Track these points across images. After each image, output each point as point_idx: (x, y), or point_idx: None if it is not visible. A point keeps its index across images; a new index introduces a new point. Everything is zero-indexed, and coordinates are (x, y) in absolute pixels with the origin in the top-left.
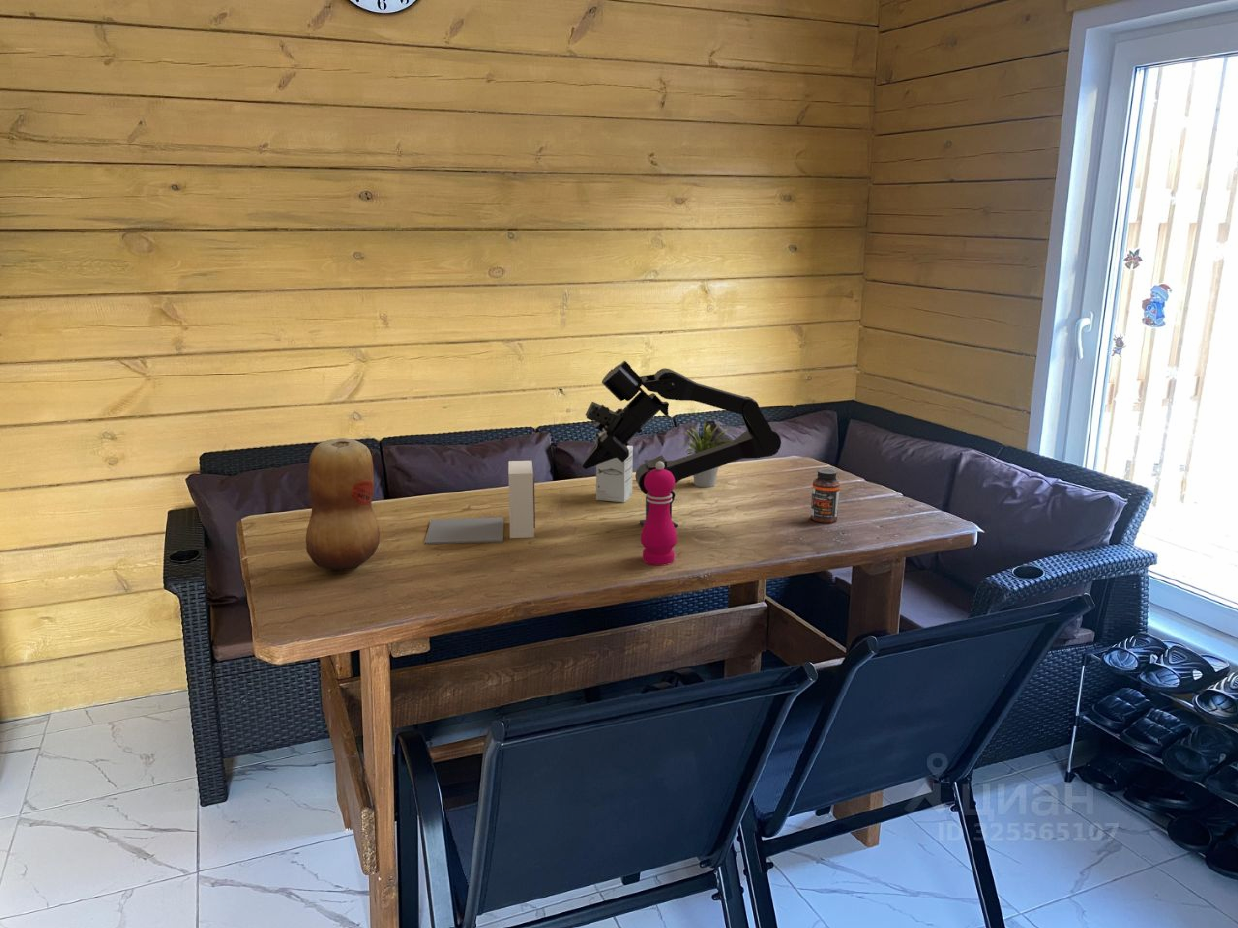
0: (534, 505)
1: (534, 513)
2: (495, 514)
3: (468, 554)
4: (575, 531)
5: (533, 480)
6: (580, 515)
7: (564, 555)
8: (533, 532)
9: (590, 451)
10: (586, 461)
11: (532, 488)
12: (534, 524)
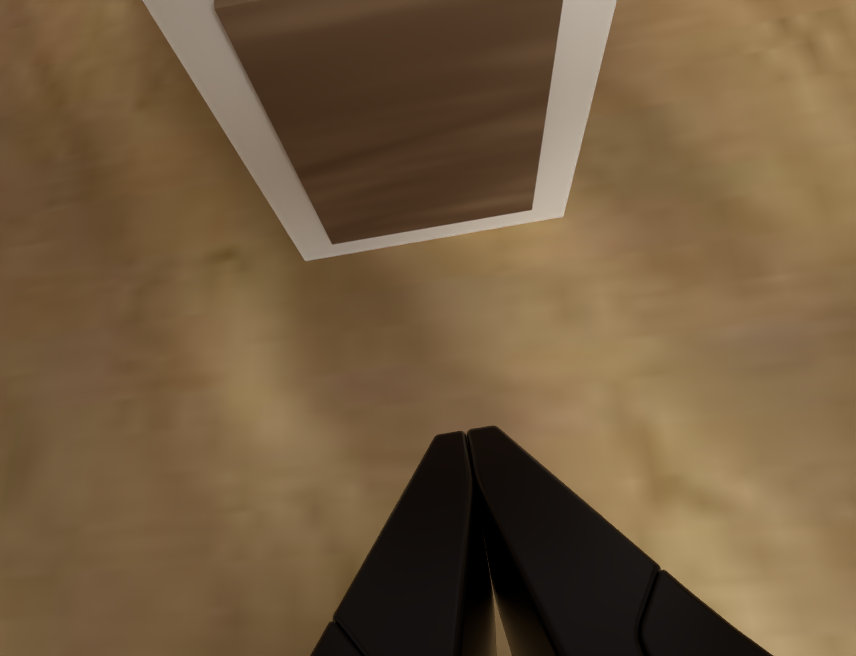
0: (294, 167)
1: (309, 197)
2: (659, 39)
3: (100, 62)
4: (405, 464)
5: (220, 21)
6: (739, 465)
7: (13, 444)
8: (297, 248)
9: (633, 580)
10: (403, 499)
11: (186, 67)
12: (327, 231)
